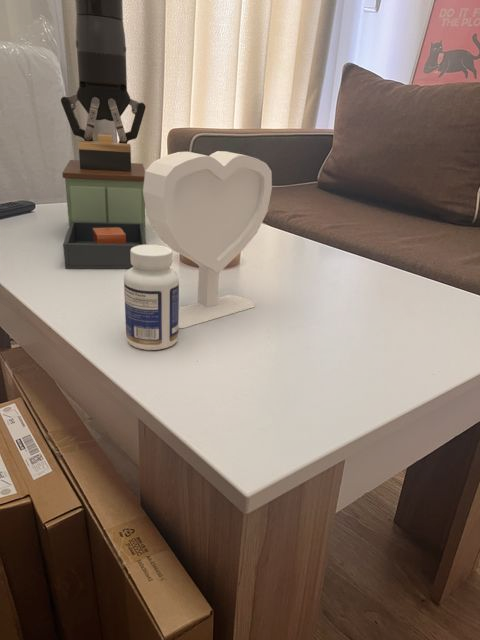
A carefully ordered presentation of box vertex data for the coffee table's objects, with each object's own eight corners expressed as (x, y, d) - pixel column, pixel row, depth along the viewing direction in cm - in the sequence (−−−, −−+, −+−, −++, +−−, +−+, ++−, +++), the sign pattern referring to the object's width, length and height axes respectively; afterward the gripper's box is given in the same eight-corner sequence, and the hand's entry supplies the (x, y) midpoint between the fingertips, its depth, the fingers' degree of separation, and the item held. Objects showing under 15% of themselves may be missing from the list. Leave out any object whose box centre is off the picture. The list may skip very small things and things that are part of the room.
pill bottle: (160, 325, 58) (159, 239, 54) (188, 343, 55) (190, 253, 51) (116, 337, 55) (112, 246, 51) (143, 356, 52) (141, 260, 47)
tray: (65, 268, 73) (63, 244, 72) (72, 243, 84) (70, 221, 83) (147, 269, 76) (146, 245, 74) (143, 244, 87) (143, 223, 86)
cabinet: (68, 242, 85) (62, 172, 80) (74, 220, 97) (69, 159, 93) (147, 243, 88) (146, 176, 83) (143, 222, 101) (142, 163, 96)
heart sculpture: (167, 332, 57) (168, 158, 49) (141, 317, 60) (137, 151, 52) (266, 303, 67) (279, 155, 60) (239, 291, 70) (248, 149, 63)
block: (97, 234, 73) (92, 227, 77) (98, 262, 75) (94, 254, 78) (125, 234, 75) (120, 227, 78) (126, 261, 77) (121, 253, 80)
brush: (83, 161, 92) (81, 130, 90) (130, 164, 94) (129, 134, 92) (80, 169, 84) (77, 135, 82) (131, 171, 86) (130, 139, 84)
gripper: (146, 57, 89) (147, 163, 96) (56, 48, 85) (65, 159, 93) (148, 55, 82) (149, 169, 90) (51, 45, 79) (61, 165, 86)
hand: (107, 163), depth 91 cm, fingers open, 4 cm apart
